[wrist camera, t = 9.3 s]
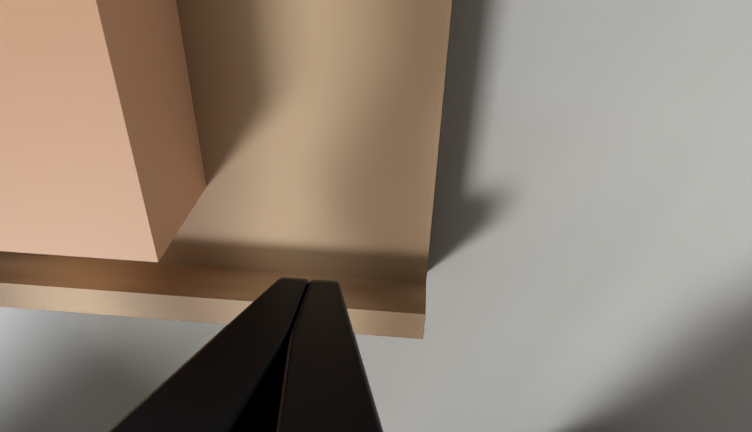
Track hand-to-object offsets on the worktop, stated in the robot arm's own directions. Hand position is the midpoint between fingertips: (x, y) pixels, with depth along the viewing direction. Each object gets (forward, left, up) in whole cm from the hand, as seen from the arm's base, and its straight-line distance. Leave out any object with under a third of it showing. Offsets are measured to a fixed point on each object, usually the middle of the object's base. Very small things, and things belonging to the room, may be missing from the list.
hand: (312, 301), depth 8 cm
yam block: (+8, 0, -8) cm, 11 cm away
